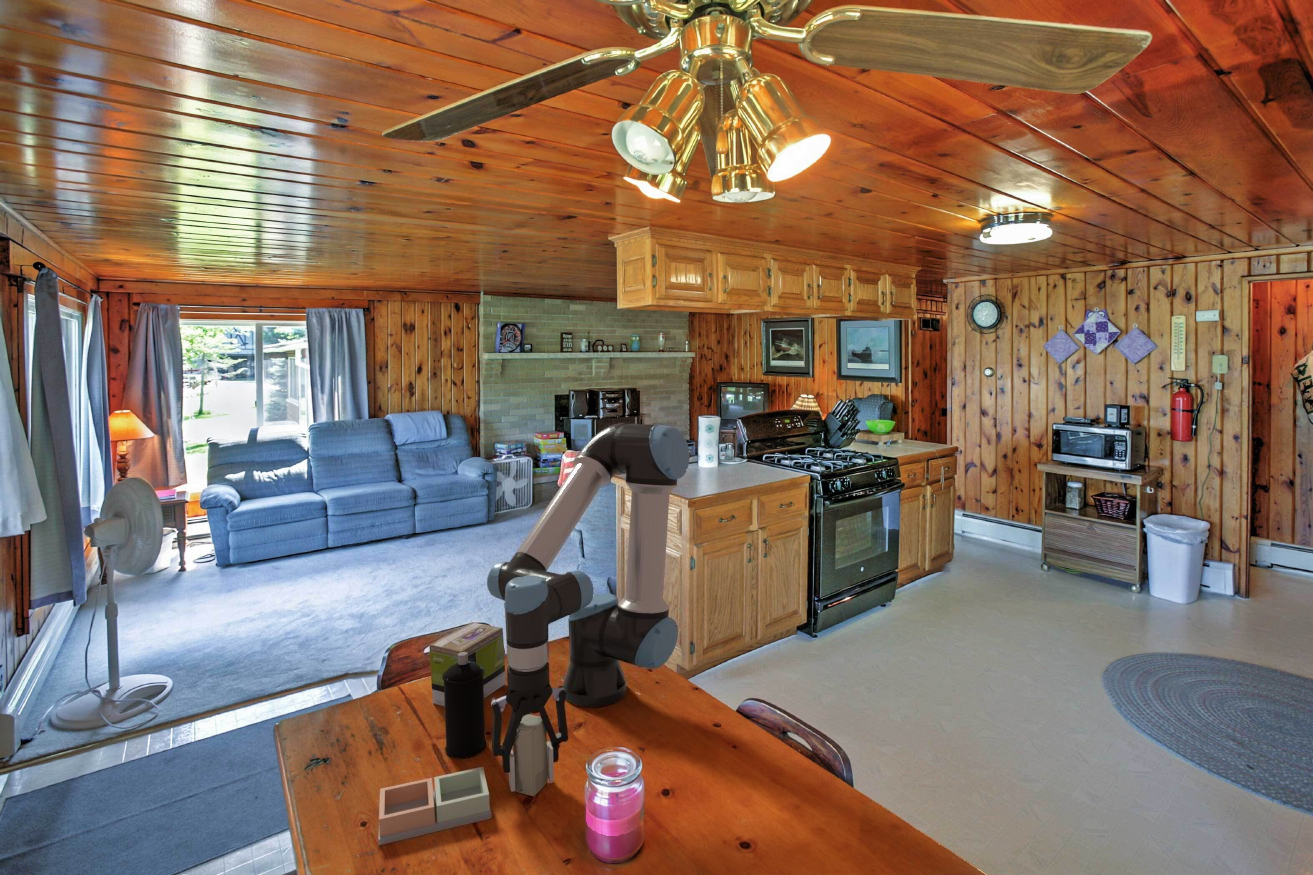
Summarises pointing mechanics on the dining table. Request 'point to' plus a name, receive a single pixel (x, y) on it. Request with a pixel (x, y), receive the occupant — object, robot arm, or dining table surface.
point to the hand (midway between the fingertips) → (531, 782)
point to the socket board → (432, 805)
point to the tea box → (469, 656)
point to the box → (530, 755)
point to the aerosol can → (464, 708)
